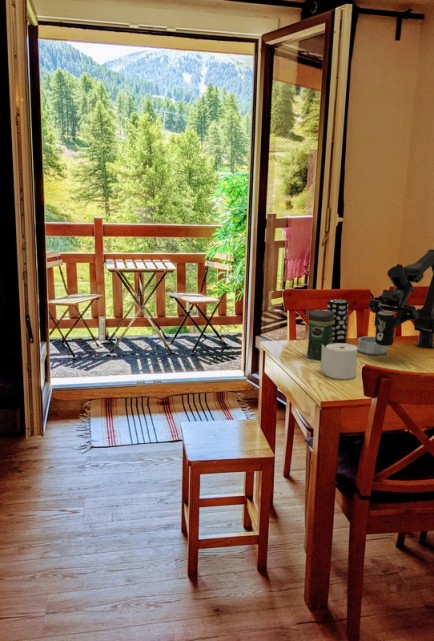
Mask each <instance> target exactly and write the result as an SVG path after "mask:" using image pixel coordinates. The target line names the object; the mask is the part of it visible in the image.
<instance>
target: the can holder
mask: <svg viewBox="0 0 434 641" xmlns="http://www.w3.org/2000/svg"><path fill="white" fill-rule="evenodd" d="M357 349H358V350H357V353H360V354H362V355H367V356H385V355H387V354H388V346H382V345H378V344H377V343H376V342H375V336H370V335H369V336H367V335H366V336H361V337H358V338H357Z"/></svg>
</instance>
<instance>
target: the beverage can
mask: <svg viewBox="0 0 434 641" xmlns="http://www.w3.org/2000/svg"><path fill="white" fill-rule="evenodd" d="M395 318H396V316H395V312H391V311H387V310H384V311H380V312H378V315H377V320H376V326H375V336H374V337H375V342H376V343H377V344H378V345H382V346H387V347H388V346H392V345H393V344H394V340H395V339H394V337H395V329H393V330H392V329H391V326H392V324H393V322H394V320H395Z"/></svg>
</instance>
